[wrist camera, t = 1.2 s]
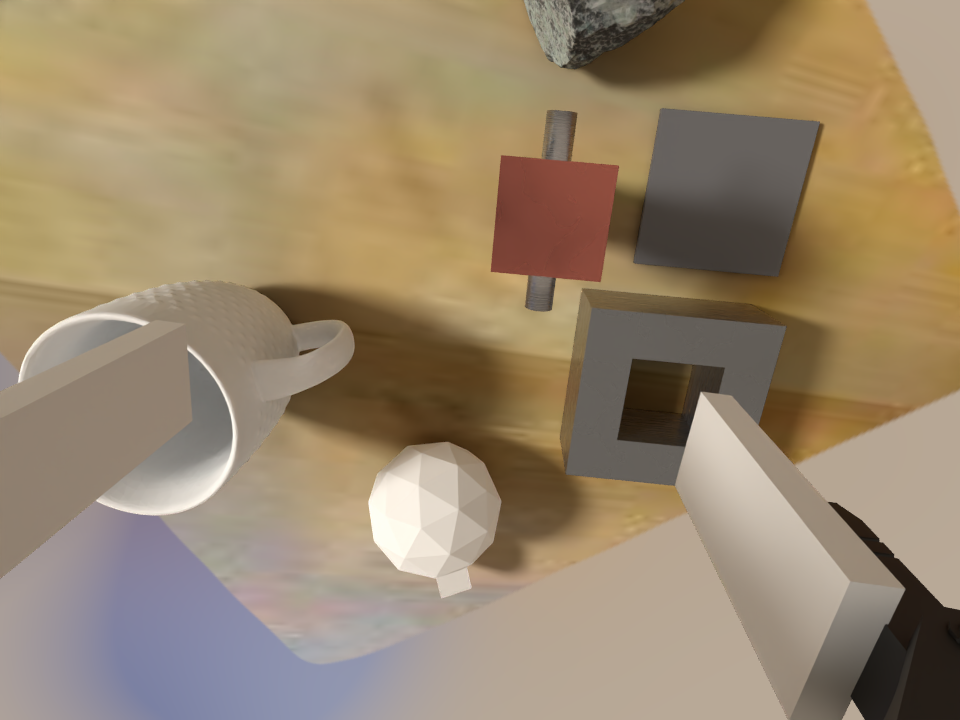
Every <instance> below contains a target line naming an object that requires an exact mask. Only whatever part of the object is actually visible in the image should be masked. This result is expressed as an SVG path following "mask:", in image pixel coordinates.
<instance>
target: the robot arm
mask: <svg viewBox="0 0 960 720" xmlns="http://www.w3.org/2000/svg"><path fill="white" fill-rule="evenodd" d="M190 422H192V407H191V393H190V379H189V364H188V350H187V336H186V324H183V323H175V322H167V321H160V320H155V321H153V322H151V323H148V324H146V325H144V326H142V327H140V328H137V329H135V330H133V331H131V332H129V333H127V334H124V335H122V336H120V337H118V338H116V339H113V340H111V341H109V342H107V343H105V344H103V345H100V346H98V347H96V348H94V349H92V350H90V351H87V352H85V353H83V354H81V355H79V356H76V357H74V358H72V359H70V360H68V361H66V362H63V363H61V364H59V365H57V366H55V367H52V368H50V369H48V370H46V371H44V372H42V373H39V374H37V375H35V376H33V377H31V378H29V379H26V380H24V381H22V382H20V383H18V384H15V385H13V386H11V387H9V388H7V389H5V390H2V391H0V578H2V577H3V576H4V575H5V574H7V573H8V572H9V571H10V570H12V569H13V568H14V567H15V566H16V565H18V564H19V563H20V562H21V561H23V560H24V559H25V558H26V557H27V556H29V555H30V554H31V553H32V552H34V551H35V550H36V549H37V548H38V547H40V546H41V545H42V544H43V543H44V542H46V541H47V540H48V539H49V538H51V536H53V535H54V534H55V533H57V532H58V531H59V530H60V529H62V528H63V527H64V526H65V525H66V524H68V523H69V522H70V521H71V520H72V519H74V518H75V517H76V516H77V515H78V514H80V513H81V512H82V511H83V510H85V508H87V507H88V506H89V505H91V504H92V503H93V502H94V501H96V500H97V499H98V498H99V497H100V496H102V495H103V494H104V493H105V492H106V491H108V490H109V489H110V488H111V487H113V486H114V485H115V484H116V483H117V482H119V481H120V480H121V479H122V478H123V477H125V476H126V475H127V474H128V473H130V472H131V471H132V470H133V469H134V468H136V467H137V466H138V465H139V464H140V463H142V462H143V461H144V460H145V459H147V458H148V457H149V456H150V455H151V454H153V453H154V452H155V451H156V450H158V449H159V448H160V447H161V446H162V445H164V444H165V443H166V442H167V441H168V440H170V439H171V438H172V437H173V436H175V435H176V434H177V433H178V432H179V431H181V430H182V429H183V428H184V427H185V426H187V425H188V424H189V423H190ZM675 487H676V489H677V491H678V493H679V495H680V497H681V499H682V501H683V503H684V505H685V508H686V510H687V512H688V514H689V516H690V518H691V520H692V522H693V524H694V526H695V528H696V530H697V532H698V534H699V536H700V538H701V541H702V542H703V545H704V547H705V549H706V551H707V553H708V555H709V557H710V559H711V561H712V563H713V565H714V567H715V569H716V572H717V574H718V575H719V578H720V580H721V582H722V584H723V586H724V588H725V590H726V592H727V594H728V596H729V599H730V601H731V603H732V605H733V607H734V609H735V611H736V613H737V615H738V617H739V619H740V621H741V623H742V625H743V628H744V629H745V632H746V634H747V636H748V638H749V640H750V642H751V644H752V646H753V648H754V650H755V652H756V654H757V656H758V659H759V661H760V663H761V665H762V666H763V669H764V671H765V673H766V675H767V677H768V679H769V681H770V683H771V685H772V688H773V689H774V692H775V694H776V696H777V698H778V700H779V702H780V704H781V706H782V708H783V710H784V712H785V714H786V716H787V719H788V720H842V718H843V716H844V714H845V712H846V710H847V708H848V706H849V704H850V702H851V700H853V701H854V703H855V704H856V706H857V708H858V709H859V711H860V713H861V714H862V716H863V717H864V719H865V720H960V610H957V609H952V608H947V607H944V606H943V605H942V604H941V603H940V602H939V601H938V600H937V599H936V598H935V597H934V596H933V595H932V594H931V593H930V592H929V591H928V590H927V588H925V586H924V585H923V584H922V583H921V582H920V581H919V580H918V579H917V578H916V577H915V576H914V575H913V574H912V573H911V572H910V571H909V570H908V569H907V567H906V566H905V565H904V564H903V563H902V562H901V561H900V560H899V559H897V558H894V554H893V553H892V552H891V551H890V550H889V548H888V547H887V546H886V545H885V544H884V543H881V542H879V538H878V537H877V536H876V535H875V534H874V533H873V532H872V531H871V529H870V528H869V527H868V526H867V525H866V524H865V523H864V522H863V521H862V520H860V519H859V518H858V517H856V516H855V515H853V514H852V513H850V512H849V511H847V510H846V509H844V508H843V507H841V506H840V505H838V504H837V503H833V502H827V501H826V500H825V499H824V498H823V497H822V496H821V495H820V493H819V492H818V491H817V490H816V489H815V488H814V487H813V486H812V484H811V483H810V482H809V481H808V480H807V479H806V478H805V477H804V476H803V474H802V473H801V472H800V471H799V470H798V469H797V468H796V467H795V466H794V464H793V463H792V462H791V461H790V460H789V459H788V458H787V457H786V456H785V454H784V453H783V452H782V451H781V450H780V449H779V448H778V447H777V446H776V444H775V443H774V442H773V441H772V440H771V439H770V438H769V437H768V436H767V434H766V433H765V432H764V431H763V430H762V429H761V428H760V427H759V426H758V424H757V423H756V422H755V421H754V420H753V419H752V418H751V417H750V416H749V414H748V413H747V412H746V411H745V410H744V409H743V408H742V407H741V406H740V404H739V403H738V402H737V401H736V400H735V399H734V398H733V397H732V396H731V395H723V394H715V393H708V392H701V394H700V397H699V401H698V404H697V408H696V411H695V415H694V418H693V422H692V426H691V429H690V433H689V436H688V440H687V443H686V447H685V451H684V454H683V458H682V461H681V465H680V468H679V472H678V475H677V479H676V483H675Z"/></svg>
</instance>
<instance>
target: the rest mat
mask: <svg viewBox="0 0 960 720" xmlns="http://www.w3.org/2000/svg"><path fill="white" fill-rule="evenodd" d="M819 123H820V122H817V121H805V120H793V119H782V118H770V117H758V116H746V115H734V114H723V113H711V112H699V111H687V110H675V109H664V108H662V109H661V110H660V116H659V121H658V127H657V132H656V138H655V144H654V149H653V155H652V160H651V166H650V172H649V177H648V183H647V189H646V194H645V200H644V205H643V211H642V217H641V222H640V228H639V234H638V239H637V245H636V250H635V256H634V263H637V264H647V265H658V266H669V267H680V268H691V269H701V270H712V271H723V272H734V273H745V274H755V275H766V276H777V277H778V275H779V271H780V268H781V264H782V260H783V257H784V253H785V249H786V245H787V242H788V238H789V234H790V231H791V227H792V223H793V220H794V216H795V212H796V208H797V205H798V201H799V197H800V194H801V190H802V186H803V183H804V179H805V175H806V172H807V168H808V164H809V160H810V157H811V153H812V149H813V146H814V142H815V138H816V135H817V131H818V127H819Z"/></svg>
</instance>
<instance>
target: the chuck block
mask: <svg viewBox="0 0 960 720" xmlns="http://www.w3.org/2000/svg"><path fill="white" fill-rule="evenodd" d="M786 327H787V326H785V325H784V324H782V323H781V322H779V321H777V320H776V319H774V318H773V317H771V316H769V315H768V314H766V313H765V312H763V311H761V310H760V309H758V308H757V307H755V306H753V305H752V304H743V303H732V302H722V301H711V300H700V299H690V298H679V297H668V296H658V295H647V294H636V293H626V292H615V291H605V290H594V289H583V288H582V292H581V299H580V305H579V312H578V319H577V326H576V332H575V339H574V346H573V353H572V359H571V366H570V373H569V379H568V386H567V393H566V400H565V406H564V413H563V420H562V427H561V433H560V441H561V448H562V454H563V460H564V467H565V473H566V474H567V475H576V476H586V477H596V478H605V479H615V480H625V481H634V482H644V483H654V484H663V485H673V486H675V483H676V479H677V475H678V472H679V468H680V465H681V461H682V458H683V454H684V451H685V447H686V443H687V440H688V436H689V433H690V429H691V426H692V422H693V418H694V415H695V411H696V408H697V404H698V401H699V397H700V394H701V392H708V393H715V394H723V395H731V396H732V397H733V398H734V399H735V400H736V401H737V402H738V403H739V404H740V406H741V407H742V408H743V409H744V410H745V411H746V412H747V413H748V414H749V416H750V417H751V418H752V419H753V420H754V421H755V422H756V423H757V424H758V425H759V422H760V418H761V415H762V411H763V408H764V404H765V401H766V397H767V394H768V390H769V387H770V383H771V380H772V376H773V373H774V369H775V366H776V362H777V359H778V355H779V352H780V348H781V345H782V341H783V338H784V334H785V331H786ZM632 359H643V360H653V361H663V362H673V363H684V364H693V368H692V373H691V377H690V381H689V386H688V390H687V394H686V399H685V403H684V407H683V412H682V414H678V413H668V412H658V411H648V410H638V409H628V408H623V406H624V400H625V395H626V390H627V384H628V379H629V374H630V368H631V363H632Z"/></svg>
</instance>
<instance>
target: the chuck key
mask: <svg viewBox="0 0 960 720" xmlns="http://www.w3.org/2000/svg"><path fill="white" fill-rule="evenodd" d="M576 120H577V113H576V112H570V111H559V110H548V111H547V116H546V124H545V133H544V142H543V151H542V159H537V158H526V157H514V156H503V155H501V164H500V175H499V186H498V197H497V208H496V219H495V231H494V242H493V253H492V264H491V272H499V273H510V274H521V275H528V283H527V292H526V301H525V307H526V308H527V309H530V310H534V311H550V310H552V304H553V296H554V288H555V281H556V278H563V279H574V280H585V281H595V282H601V276H602V270H603V263H604V257H605V251H606V244H607V238H608V232H609V226H610V219H611V213H612V207H613V201H614V194H615V188H616V182H617V175H618V169H619V166H617V165H606V164H594V163H583V162H571V159H572V151H573V143H574V136H575V128H576Z"/></svg>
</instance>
